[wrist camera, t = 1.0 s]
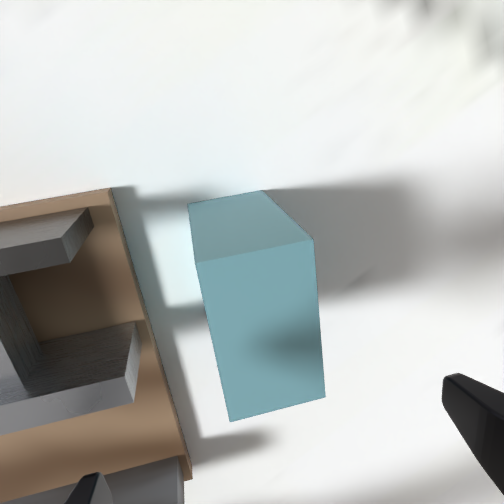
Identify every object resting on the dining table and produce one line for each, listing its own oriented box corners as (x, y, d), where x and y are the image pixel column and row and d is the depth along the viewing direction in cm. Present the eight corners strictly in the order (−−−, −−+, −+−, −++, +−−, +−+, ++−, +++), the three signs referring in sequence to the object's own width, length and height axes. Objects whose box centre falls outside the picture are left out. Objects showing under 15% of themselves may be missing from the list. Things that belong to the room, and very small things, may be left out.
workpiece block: (276, 302, 22) (325, 397, 15) (211, 316, 22) (229, 422, 14) (261, 190, 20) (313, 239, 12) (187, 203, 19) (194, 263, 12)
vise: (191, 465, 26) (195, 552, 21) (-4, 519, 24) (-51, 627, 19) (110, 187, 18) (85, 218, 13) (-187, 239, 16) (-347, 297, 11)
